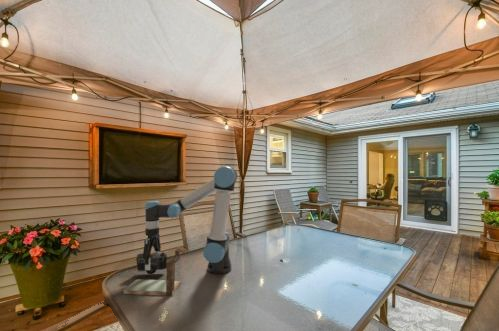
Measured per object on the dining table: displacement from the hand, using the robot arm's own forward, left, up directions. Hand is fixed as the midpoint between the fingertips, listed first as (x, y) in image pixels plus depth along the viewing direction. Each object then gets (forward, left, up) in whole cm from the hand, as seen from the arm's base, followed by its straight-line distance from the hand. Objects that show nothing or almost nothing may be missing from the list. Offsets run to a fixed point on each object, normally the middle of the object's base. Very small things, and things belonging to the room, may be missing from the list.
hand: (152, 266), depth 133 cm
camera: (0, 0, -3) cm, 3 cm away
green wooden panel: (-8, +14, -6) cm, 17 cm away
